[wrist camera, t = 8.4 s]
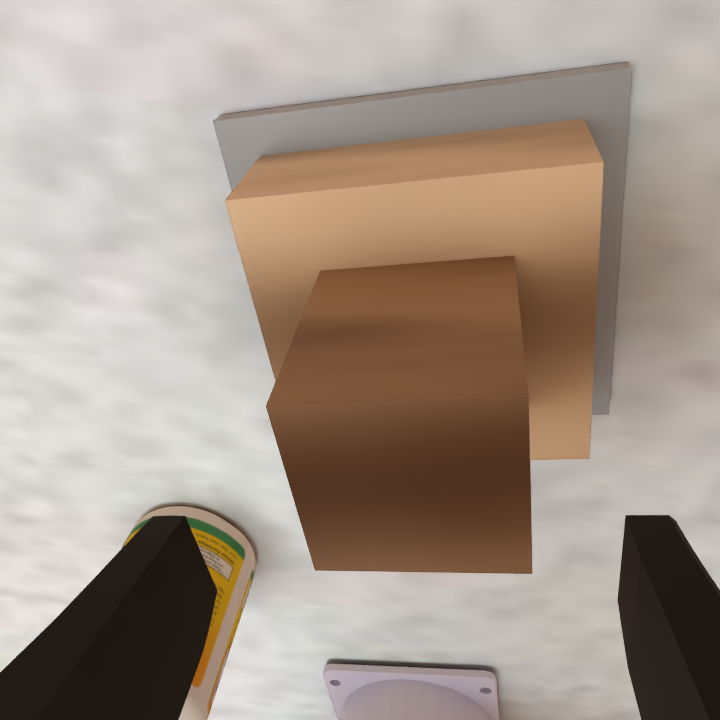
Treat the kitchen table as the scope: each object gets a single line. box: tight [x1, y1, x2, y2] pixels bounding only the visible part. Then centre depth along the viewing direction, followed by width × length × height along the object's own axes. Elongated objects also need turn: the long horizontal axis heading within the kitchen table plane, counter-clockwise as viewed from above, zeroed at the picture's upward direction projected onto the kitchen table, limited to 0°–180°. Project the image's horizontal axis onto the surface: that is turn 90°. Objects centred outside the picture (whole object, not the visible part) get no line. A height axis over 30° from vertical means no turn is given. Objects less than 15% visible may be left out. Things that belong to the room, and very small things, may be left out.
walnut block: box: [266, 256, 532, 574], centre depth 14 cm, size 4×4×5 cm
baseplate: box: [213, 62, 632, 415], centre depth 19 cm, size 10×10×1 cm
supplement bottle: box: [122, 506, 256, 720], centre depth 24 cm, size 5×5×10 cm
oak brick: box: [225, 119, 604, 460], centre depth 18 cm, size 8×8×3 cm
